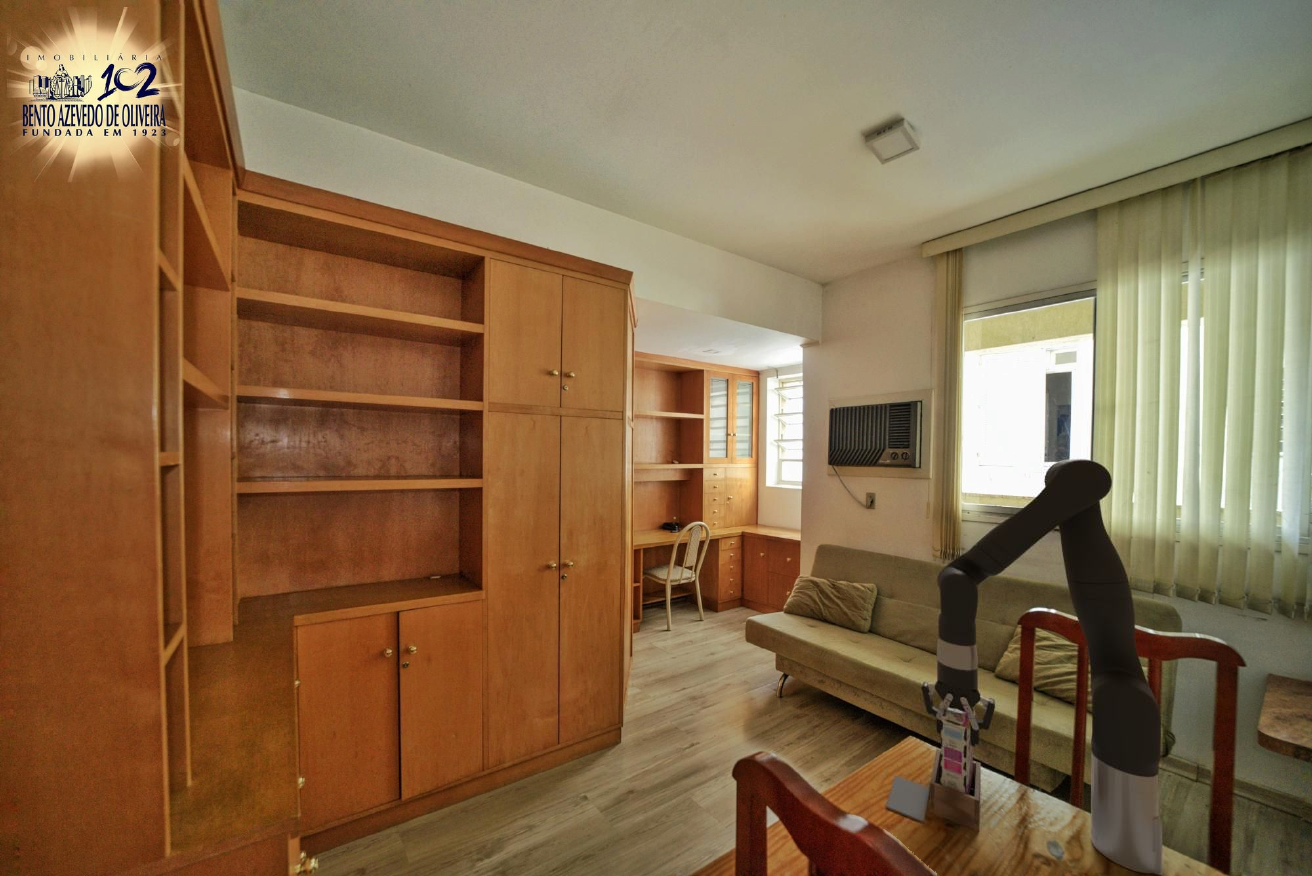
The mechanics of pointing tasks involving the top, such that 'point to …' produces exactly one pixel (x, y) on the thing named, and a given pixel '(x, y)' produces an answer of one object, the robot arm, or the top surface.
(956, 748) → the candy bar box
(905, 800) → the grey mat
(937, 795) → the walnut sleeve
